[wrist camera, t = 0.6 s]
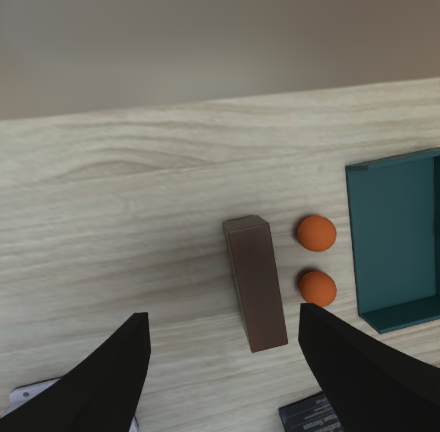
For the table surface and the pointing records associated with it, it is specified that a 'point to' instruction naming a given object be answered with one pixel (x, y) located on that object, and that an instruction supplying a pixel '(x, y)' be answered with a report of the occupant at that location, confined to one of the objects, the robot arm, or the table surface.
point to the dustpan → (396, 238)
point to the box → (311, 416)
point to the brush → (256, 282)
